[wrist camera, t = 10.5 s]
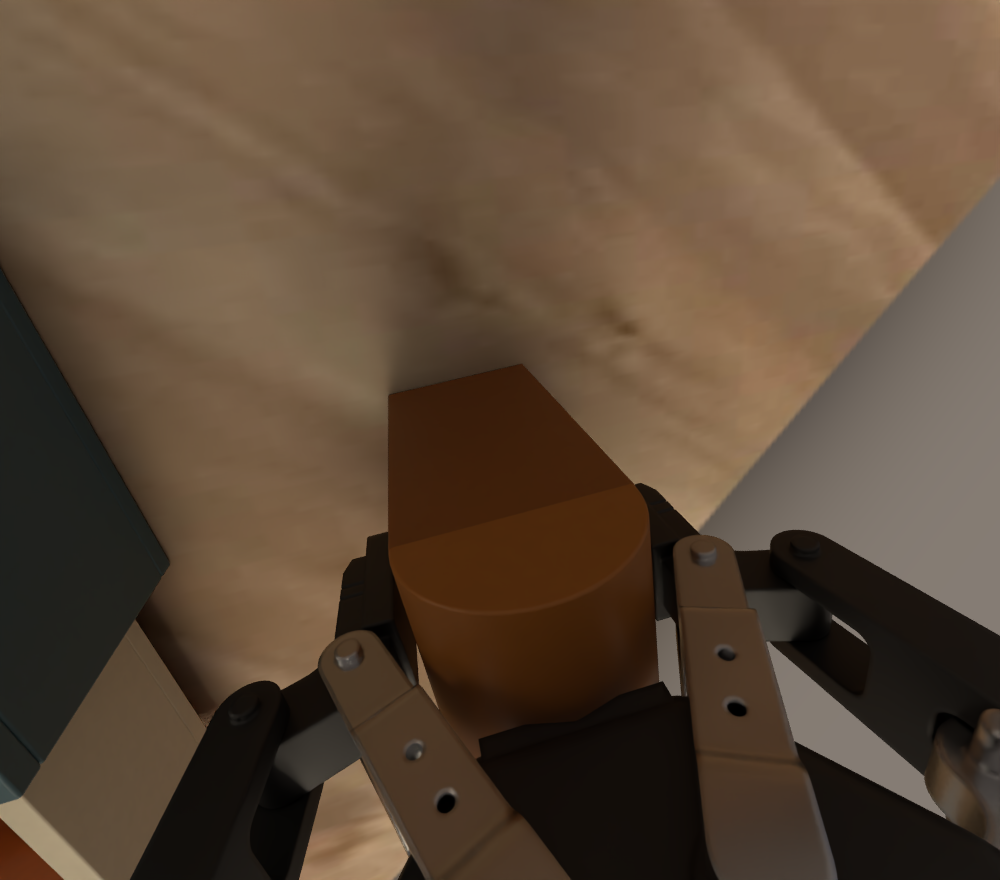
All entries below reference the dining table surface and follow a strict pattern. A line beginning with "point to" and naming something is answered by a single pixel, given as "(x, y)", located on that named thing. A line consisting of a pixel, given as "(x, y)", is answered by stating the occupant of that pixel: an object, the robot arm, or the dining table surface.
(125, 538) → the cabinet
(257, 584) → the dining table surface
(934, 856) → the robot arm
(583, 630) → the bread
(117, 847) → the drawer
